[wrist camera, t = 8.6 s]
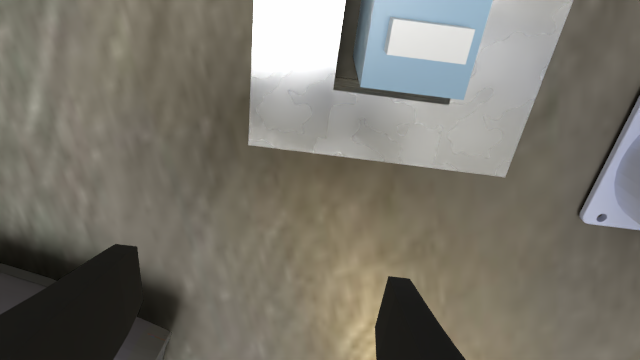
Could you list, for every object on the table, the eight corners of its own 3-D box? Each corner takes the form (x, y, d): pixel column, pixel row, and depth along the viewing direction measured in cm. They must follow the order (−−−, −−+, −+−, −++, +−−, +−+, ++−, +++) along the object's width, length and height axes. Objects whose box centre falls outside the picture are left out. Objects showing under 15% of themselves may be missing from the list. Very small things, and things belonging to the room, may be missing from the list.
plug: (445, -18, 17) (508, -17, 11) (426, 65, 18) (471, 107, 12) (365, -28, 17) (383, -33, 11) (352, 55, 18) (361, 93, 12)
